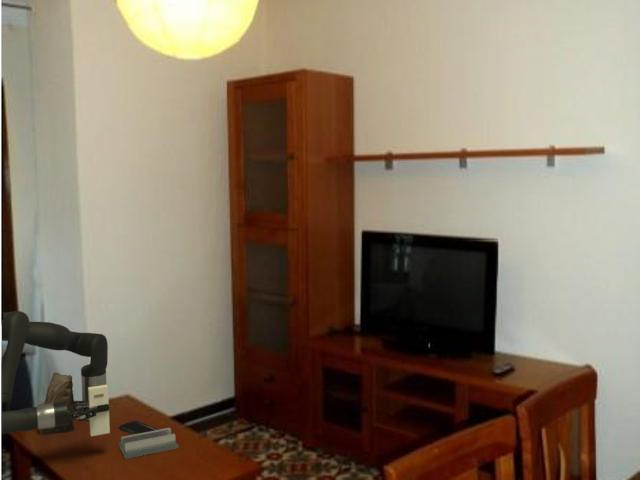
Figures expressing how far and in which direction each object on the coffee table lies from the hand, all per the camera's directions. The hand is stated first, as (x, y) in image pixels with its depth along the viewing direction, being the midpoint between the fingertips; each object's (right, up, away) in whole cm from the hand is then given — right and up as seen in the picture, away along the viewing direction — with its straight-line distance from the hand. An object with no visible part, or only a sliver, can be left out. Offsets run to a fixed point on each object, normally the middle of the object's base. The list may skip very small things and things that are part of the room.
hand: (107, 405), depth 210 cm
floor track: (+12, -16, +8) cm, 22 cm away
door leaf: (-2, -9, 0) cm, 9 cm away
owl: (-28, -15, +24) cm, 40 cm away
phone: (+4, -16, +23) cm, 28 cm away
